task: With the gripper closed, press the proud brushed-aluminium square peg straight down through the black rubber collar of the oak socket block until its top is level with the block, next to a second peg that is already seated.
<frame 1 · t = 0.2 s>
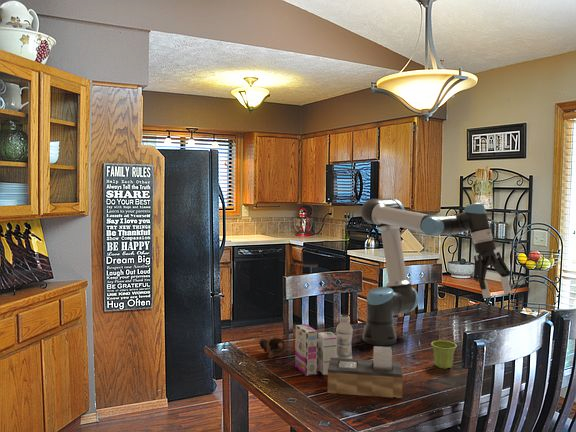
hand: (497, 295, 194), 28 cm above the table, tool tilted 20°, fingers open, 13 cm apart
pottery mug: (272, 355, 208), on the table
plastic bottle: (344, 367, 194), on the table
seated peg: (347, 387, 175), resting in socket block
plant pot: (443, 366, 195), on the table
peg: (382, 360, 172), point 10 cm above the table, slide at 6.0 cm
candy bar box: (306, 371, 190), on the table
syrup box: (327, 372, 189), on the table
socket block: (364, 388, 174), on the table
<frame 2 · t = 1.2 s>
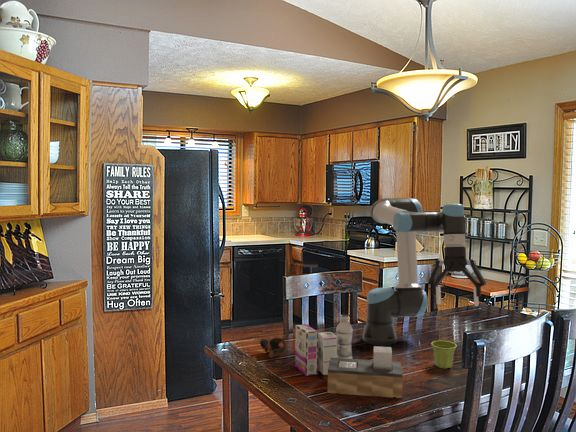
hand: (457, 305, 182), 27 cm above the table, tool pointing down, fingers open, 13 cm apart
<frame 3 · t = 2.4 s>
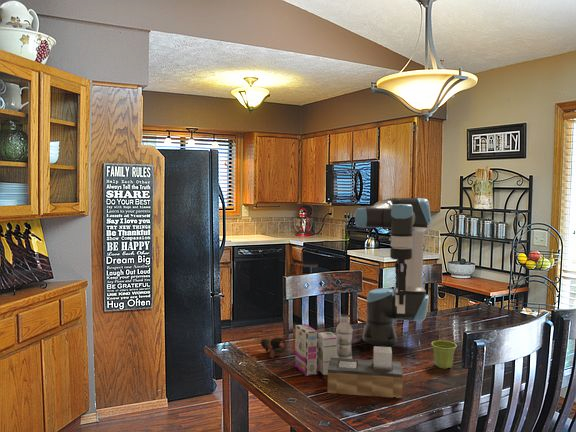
hand: (400, 309, 180), 26 cm above the table, tool pointing down, fingers open, 10 cm apart
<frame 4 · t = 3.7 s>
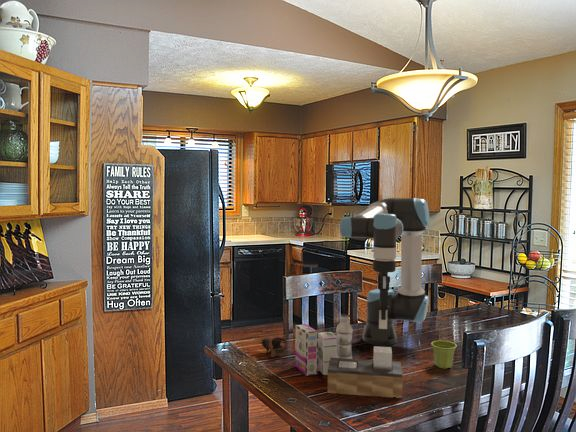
hand: (383, 328, 171), 21 cm above the table, tool pointing down, fingers closed
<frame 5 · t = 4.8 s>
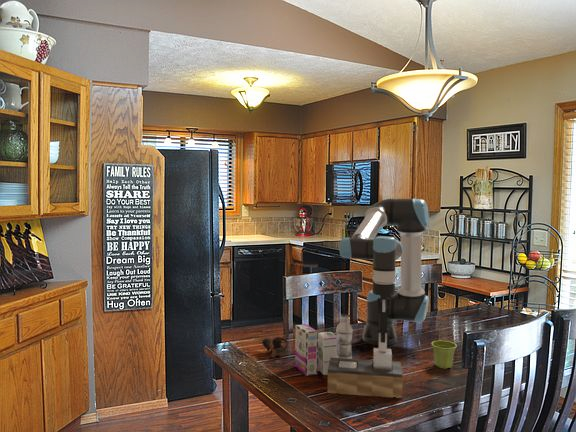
hand: (382, 350, 172), 14 cm above the table, tool pointing down, fingers closed
peg: (382, 362, 172), point 10 cm above the table, slide at 5.4 cm, touching gripper
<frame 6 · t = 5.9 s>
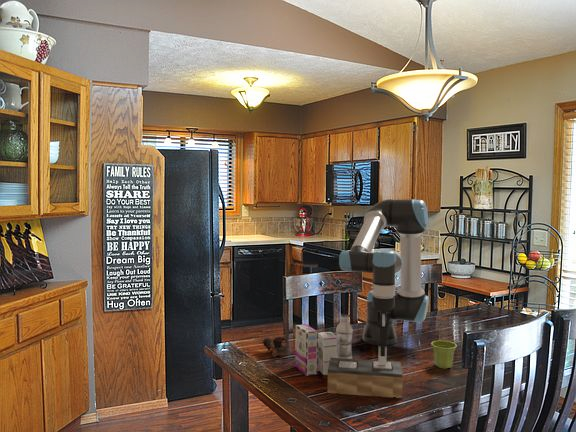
hand: (382, 364, 172), 9 cm above the table, tool pointing down, fingers closed
peg: (382, 375, 172), point 5 cm above the table, slide at 0.6 cm, touching gripper
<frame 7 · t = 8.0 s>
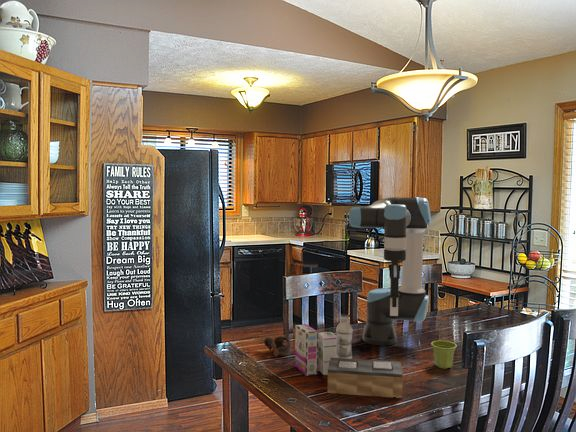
hand: (393, 315, 177), 24 cm above the table, tool pointing down, fingers closed
peg: (382, 375, 172), point 5 cm above the table, slide at 0.6 cm
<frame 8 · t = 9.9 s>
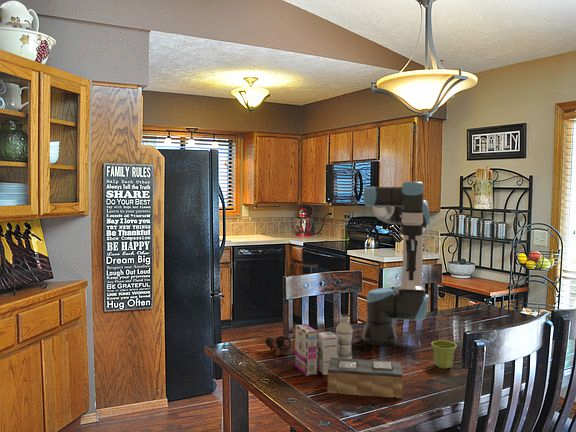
hand: (410, 288, 184), 32 cm above the table, tool pointing down, fingers closed
at the end: peg slide at 0.6 cm; the gripper is holding nothing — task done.
